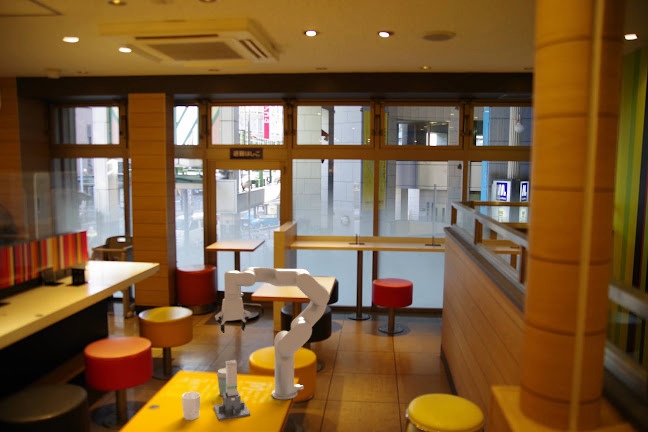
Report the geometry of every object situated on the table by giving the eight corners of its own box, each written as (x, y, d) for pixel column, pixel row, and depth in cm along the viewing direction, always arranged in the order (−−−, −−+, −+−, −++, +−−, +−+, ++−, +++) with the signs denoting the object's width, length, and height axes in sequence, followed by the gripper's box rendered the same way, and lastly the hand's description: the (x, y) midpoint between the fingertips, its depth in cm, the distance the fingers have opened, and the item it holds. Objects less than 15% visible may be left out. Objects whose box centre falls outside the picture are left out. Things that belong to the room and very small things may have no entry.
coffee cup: (230, 398, 251) (230, 374, 251) (214, 396, 253) (213, 372, 252) (237, 391, 260) (236, 367, 259) (221, 389, 262) (220, 366, 261)
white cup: (193, 411, 238) (193, 390, 237) (204, 416, 233) (203, 394, 232) (178, 417, 232) (178, 395, 231) (189, 422, 227) (189, 400, 226)
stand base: (243, 402, 247) (243, 386, 246) (250, 415, 234) (250, 398, 233) (213, 407, 242) (213, 390, 241) (219, 420, 229) (218, 403, 228)
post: (235, 393, 240) (235, 359, 239) (237, 397, 236) (237, 363, 234) (225, 395, 238) (225, 361, 237) (227, 399, 234) (227, 364, 233)
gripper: (248, 293, 255) (248, 327, 256) (213, 296, 248) (213, 331, 250) (252, 296, 248) (252, 331, 249) (216, 299, 241) (216, 335, 243)
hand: (233, 331), depth 250 cm, fingers open, 9 cm apart
